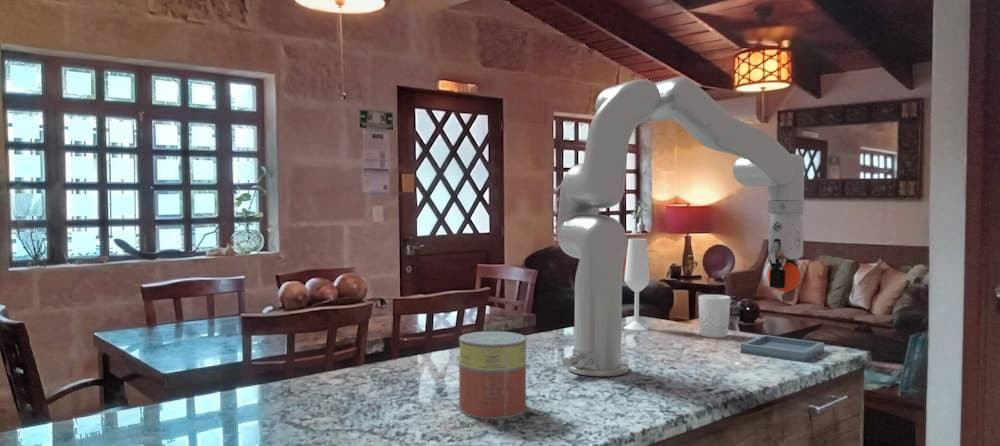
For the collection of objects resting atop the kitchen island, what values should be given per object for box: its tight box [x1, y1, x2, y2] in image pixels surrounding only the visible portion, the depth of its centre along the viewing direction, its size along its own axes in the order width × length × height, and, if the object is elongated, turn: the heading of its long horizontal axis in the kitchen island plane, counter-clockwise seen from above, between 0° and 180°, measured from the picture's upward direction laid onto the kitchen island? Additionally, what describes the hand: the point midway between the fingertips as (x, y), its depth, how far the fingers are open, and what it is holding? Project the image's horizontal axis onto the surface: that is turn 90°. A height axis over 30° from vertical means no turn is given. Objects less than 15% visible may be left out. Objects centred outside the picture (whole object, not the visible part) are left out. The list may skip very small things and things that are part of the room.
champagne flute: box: [623, 237, 651, 331], centre depth 192 cm, size 7×7×24 cm
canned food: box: [458, 330, 528, 420], centre depth 119 cm, size 11×11×12 cm
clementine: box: [767, 261, 801, 293], centre depth 163 cm, size 8×7×7 cm
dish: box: [740, 334, 825, 363], centre depth 163 cm, size 14×14×2 cm
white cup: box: [697, 294, 732, 339], centre depth 182 cm, size 8×8×10 cm
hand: (784, 285), depth 163 cm, fingers closed on clementine, 8 cm apart
